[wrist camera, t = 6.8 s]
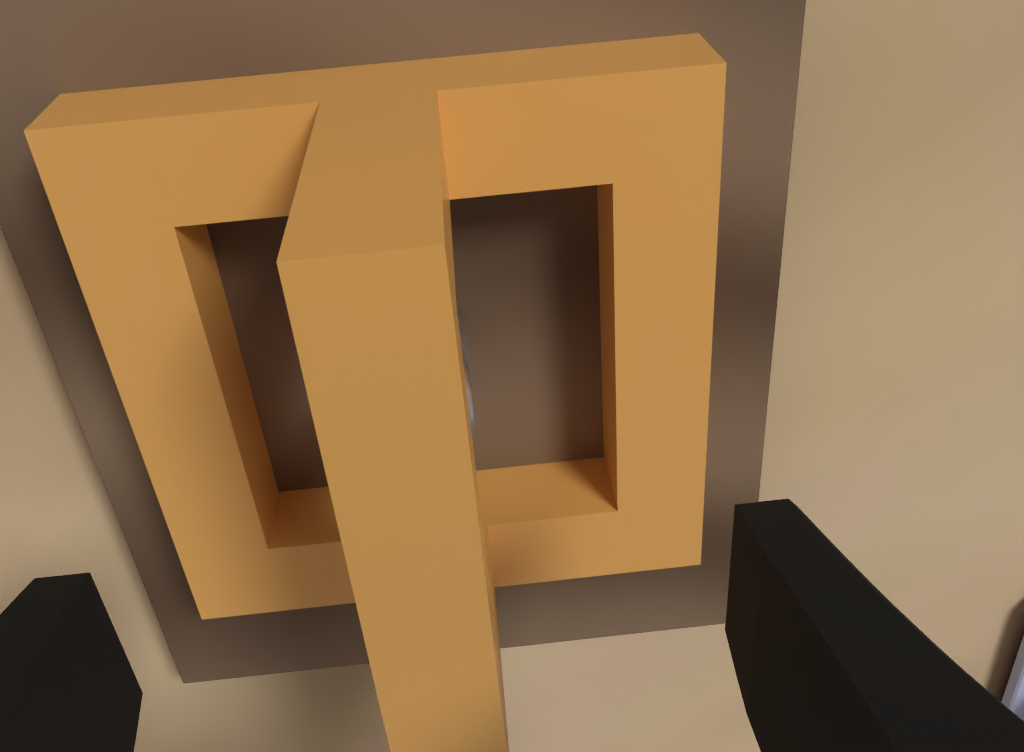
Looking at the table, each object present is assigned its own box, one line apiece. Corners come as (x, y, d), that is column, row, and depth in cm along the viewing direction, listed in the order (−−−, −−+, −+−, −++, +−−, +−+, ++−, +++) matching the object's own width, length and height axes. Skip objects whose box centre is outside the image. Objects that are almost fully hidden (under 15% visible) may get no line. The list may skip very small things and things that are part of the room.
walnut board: (734, 586, 21) (746, 621, 21) (192, 646, 21) (183, 683, 20) (821, -486, 11) (853, -503, 11) (-206, -406, 11) (-257, -416, 10)
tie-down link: (681, 509, 19) (777, 790, 14) (216, 559, 18) (141, 864, 13) (698, 32, 14) (858, 204, 9) (59, 94, 13) (-152, 304, 8)
